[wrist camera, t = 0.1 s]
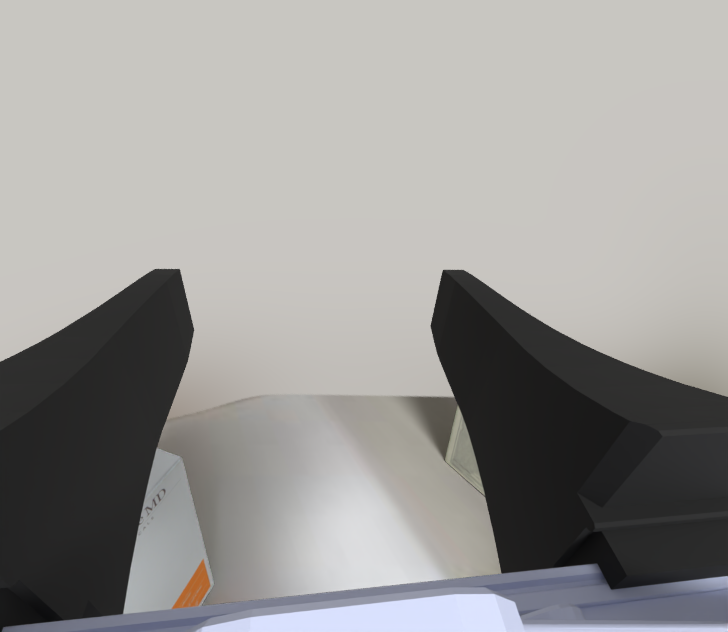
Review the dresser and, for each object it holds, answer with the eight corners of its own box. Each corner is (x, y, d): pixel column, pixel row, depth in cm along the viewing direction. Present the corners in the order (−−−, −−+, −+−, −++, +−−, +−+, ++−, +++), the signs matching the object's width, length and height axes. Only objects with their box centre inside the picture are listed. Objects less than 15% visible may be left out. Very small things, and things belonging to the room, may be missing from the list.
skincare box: (143, 709, 20) (58, 597, 13) (76, 671, 21) (-35, 550, 14) (219, 581, 24) (185, 453, 18) (162, 555, 25) (109, 426, 19)
